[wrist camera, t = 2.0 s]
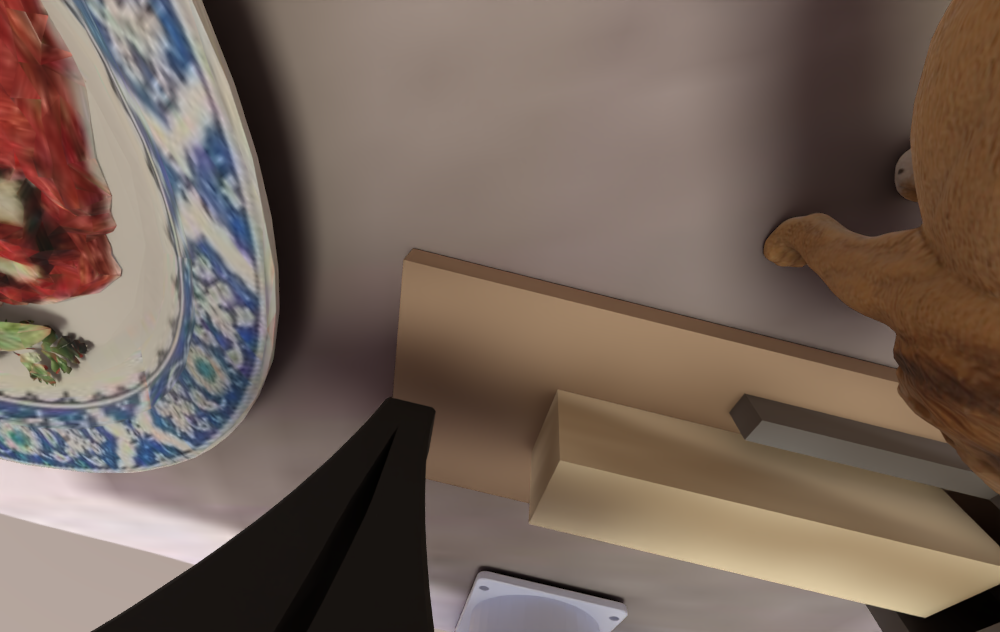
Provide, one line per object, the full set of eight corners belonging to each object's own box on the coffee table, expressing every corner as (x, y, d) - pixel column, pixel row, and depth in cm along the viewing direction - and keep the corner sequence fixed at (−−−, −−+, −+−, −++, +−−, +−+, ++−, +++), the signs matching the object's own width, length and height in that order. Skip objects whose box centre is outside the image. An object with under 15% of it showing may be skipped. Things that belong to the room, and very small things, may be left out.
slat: (861, 530, 13) (925, 618, 11) (532, 451, 13) (528, 523, 10) (934, 481, 11) (1025, 572, 9) (557, 389, 11) (560, 460, 9)
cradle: (920, 577, 15) (1046, 741, 11) (394, 452, 15) (340, 577, 11) (1180, 440, 10) (1554, 642, 6) (413, 248, 10) (328, 343, 6)
